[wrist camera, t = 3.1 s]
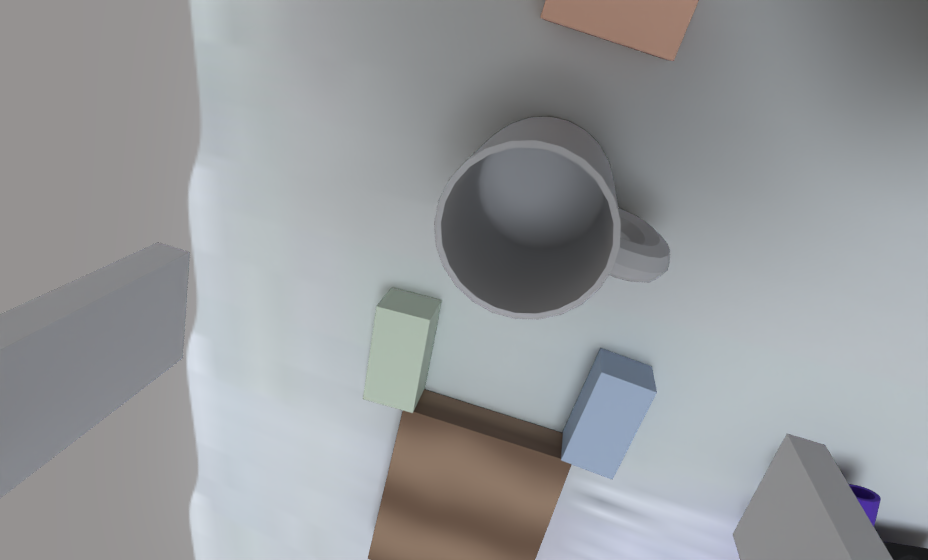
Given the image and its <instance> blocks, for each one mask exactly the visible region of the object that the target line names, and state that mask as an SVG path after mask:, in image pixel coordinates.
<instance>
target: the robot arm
mask: <svg viewBox="0 0 928 560" xmlns="http://www.w3.org/2000/svg"><path fill="white" fill-rule="evenodd" d="M189 258H190V252H188V251H185V250H182V249H179V248H175V247H172V246H169V245H166V244H162V243H159V242H157V243H155V244H153V245H151V246H149V247H147V248H144V249H142V250H140V251H138V252H136V253H133V254H131V255H129V256H127V257H125V258H122V259H120V260H118V261H116V262H114V263H111V264H109V265H107V266H105V267H103V268H100V269H98V270H96V271H94V272H92V273H90V274H87V275H85V276H83V277H81V278H79V279H76V280H74V281H72V282H70V283H68V284H65V285H63V286H61V287H59V288H57V289H54V290H52V291H51V292H48V293H46V294H44V295H41V296H39V297H37V298H35V299H32V300H30V301H28V302H26V303H24V304H22V305H19V306H17V307H15V308H13V309H11V310H8V311H6V312H4V313H2V314H0V498H1V497H3V496H4V495H6V494H7V493H8V492H9V491H10V490H12V489H13V488H15V487H16V486H17V485H18V484H20V483H21V482H22V481H24V480H25V479H26V478H27V477H29V476H30V475H31V474H33V473H34V472H35V471H37V470H38V469H39V468H41V467H42V466H43V465H44V464H46V463H47V462H48V461H50V460H51V459H52V458H54V457H55V456H56V455H57V454H59V453H60V452H61V451H63V450H64V449H65V448H67V447H68V446H69V445H70V444H72V443H73V442H74V441H76V440H77V439H78V438H80V437H81V436H82V435H83V434H85V433H86V432H87V431H88V430H90V429H91V428H93V427H94V426H95V425H96V424H98V423H99V422H100V421H102V420H103V419H104V418H106V417H107V416H108V415H109V414H111V413H112V412H113V411H115V410H116V409H117V408H118V407H120V406H121V405H122V404H123V403H125V402H126V401H128V400H129V399H130V398H132V397H133V396H134V395H135V394H137V393H138V392H139V391H140V390H142V389H143V388H144V387H146V386H147V385H148V384H150V383H151V382H152V381H154V380H155V379H156V378H157V377H159V376H160V375H161V374H163V373H164V372H165V371H166V370H168V369H169V368H170V367H172V366H173V365H174V364H176V363H177V362H178V361H179V360H181V359H182V358H183V347H184V332H185V318H186V302H187V288H188V273H189ZM733 537H734V540H735V544H736V547H737V550H738V554H739V557H740V560H893V559H892V557H891V555H890V554H889V552H888V550H887V548H886V547H885V545H884V543H883V542H882V540H881V538H880V537H879V535H878V533H877V532H876V530H875V528H874V527H873V525H872V523H871V522H870V520H869V518H868V517H867V515H866V513H865V511H864V510H863V508H862V506H861V505H860V503H859V501H858V500H857V498H856V496H855V495H854V493H853V491H852V490H851V488H850V486H849V485H848V483H847V481H846V479H845V478H844V476H843V474H842V473H841V471H840V469H839V468H838V466H837V464H836V463H835V461H834V459H833V458H832V456H831V454H830V453H829V451H828V449H827V447H826V446H825V445H823V444H820V443H817V442H813V441H810V440H807V439H804V438H800V437H797V436H794V435H790V434H786V436H785V438H784V440H783V442H782V444H781V445H780V447H779V449H778V451H777V453H776V455H775V457H774V458H773V460H772V462H771V464H770V466H769V468H768V470H767V471H766V473H765V475H764V477H763V479H762V481H761V483H760V484H759V486H758V488H757V490H756V492H755V494H754V496H753V497H752V499H751V501H750V503H749V505H748V507H747V509H746V510H745V512H744V514H743V516H742V518H741V520H740V521H739V523H738V525H737V527H736V529H735V531H734V533H733Z"/></svg>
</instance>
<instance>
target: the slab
mask: <svg viewBox="0 0 928 560" xmlns="http://www.w3.org/2000/svg"><path fill="white" fill-rule="evenodd" d="M562 438H563V433H560V432H557V431H554V430H551V429H548V428H545V427H542V426H538V425H535V424H532V423H529V422H526V421H523V420H519V419H516V418H513V417H510V416H507V415H504V414H500V413H497V412H494V411H491V410H488V409H485V408H481V407H478V406H475V405H472V404H469V403H466V402H463V401H459V400H456V399H453V398H450V397H447V396H444V395H440V394H437V393H434V392H431V391H428V390H425V389H424V391H423V393H422V395H421V397H420V399H419V401H418V403H417V405H416V407H415V410H414V412H413V413H411V412H407V411H404V410H403V412H402V416H401V420H400V424H399V429H398V433H397V437H396V441H395V446H394V450H393V454H392V458H391V462H390V467H389V471H388V475H387V479H386V484H385V488H384V492H383V496H382V500H381V505H380V509H379V513H378V517H377V521H376V526H375V530H374V534H373V538H372V543H371V547H370V551H369V555H368V559H370V560H535V559H536V556H537V553H538V551H539V548H540V545H541V543H542V540H543V538H544V535H545V532H546V530H547V527H548V525H549V522H550V519H551V517H552V514H553V511H554V509H555V506H556V504H557V501H558V498H559V496H560V493H561V491H562V488H563V485H564V483H565V480H566V478H567V475H568V472H569V470H570V467H571V464H569V463H567V462H564V461H562V460H561V452H562Z"/></svg>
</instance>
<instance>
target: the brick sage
mask: <svg viewBox="0 0 928 560" xmlns="http://www.w3.org/2000/svg"><path fill="white" fill-rule="evenodd" d="M441 302H442V300H440V299H436V298H432V297H428V296H424V295H420V294H416V293H412V292H408V291H404V290H400V289H396V288H391V289H390V290H389V292H388V293H387V294H386V295H385V297H384V298H383V299H382V300H381V301H380V303H379V304H378V305H377V306H376V313H375V320H374V326H373V333H372V340H371V347H370V354H369V361H368V367H367V374H366V381H365V388H364V395H363V399H364V400H368V401H371V402H375V403H378V404H382V405H386V406H389V407H393V408H396V409H400V410H404V411H407V412H411V413H413V412H414V410H415V407H416V405H417V403H418V401H419V399H420V397H421V395H422V393H423V391H424V389H425V385H426V380H427V375H428V370H429V364H430V359H431V354H432V349H433V344H434V338H435V333H436V328H437V323H438V317H439V312H440V307H441Z"/></svg>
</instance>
